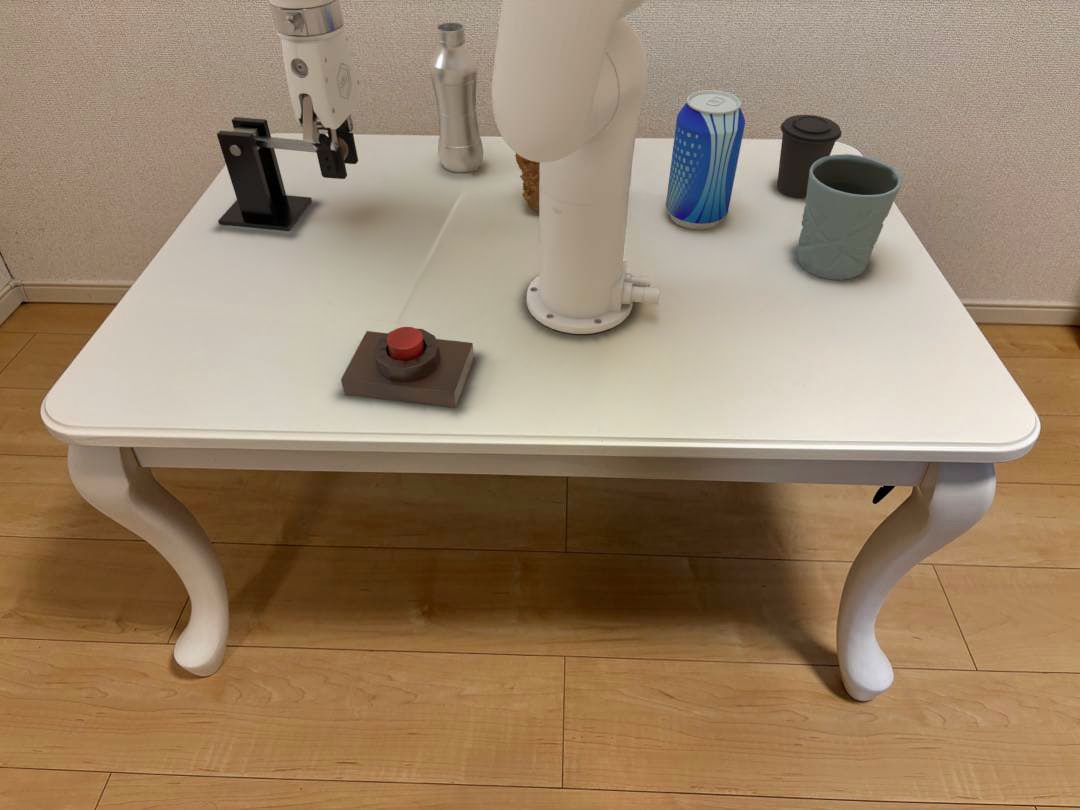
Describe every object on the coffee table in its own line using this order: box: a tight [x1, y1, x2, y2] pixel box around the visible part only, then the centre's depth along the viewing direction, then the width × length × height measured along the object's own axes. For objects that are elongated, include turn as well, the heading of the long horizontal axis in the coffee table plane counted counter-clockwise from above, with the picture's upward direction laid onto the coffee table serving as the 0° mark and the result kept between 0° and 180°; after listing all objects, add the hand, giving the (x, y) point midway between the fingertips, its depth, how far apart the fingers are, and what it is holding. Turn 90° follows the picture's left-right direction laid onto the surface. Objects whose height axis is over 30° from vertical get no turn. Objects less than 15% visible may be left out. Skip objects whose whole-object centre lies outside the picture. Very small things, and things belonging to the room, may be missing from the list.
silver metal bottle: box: [428, 22, 484, 174], centre depth 108 cm, size 6×7×20 cm
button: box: [387, 326, 424, 361], centre depth 79 cm, size 4×4×2 cm
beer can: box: [665, 89, 746, 230], centre depth 99 cm, size 8×8×16 cm
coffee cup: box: [776, 114, 842, 199], centre depth 106 cm, size 8×8×10 cm
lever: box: [231, 127, 349, 159], centre depth 97 cm, size 15×3×3 cm, turn 80°
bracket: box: [216, 116, 313, 232], centre depth 101 cm, size 10×8×13 cm
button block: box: [340, 327, 475, 409], centre depth 80 cm, size 12×8×4 cm, turn 80°
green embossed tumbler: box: [796, 153, 903, 281], centre depth 93 cm, size 10×10×12 cm
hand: (340, 168), depth 98 cm, fingers closed on lever, 3 cm apart
